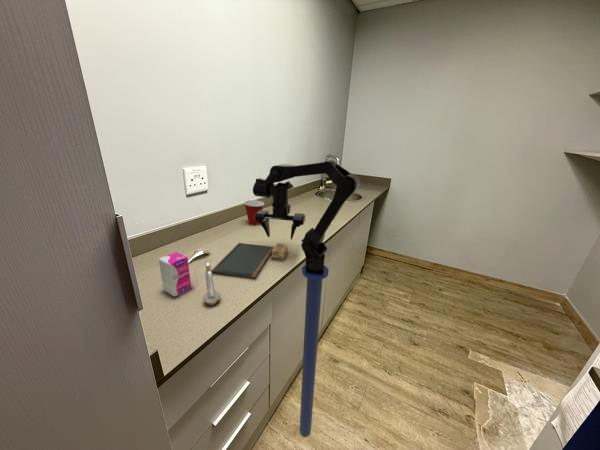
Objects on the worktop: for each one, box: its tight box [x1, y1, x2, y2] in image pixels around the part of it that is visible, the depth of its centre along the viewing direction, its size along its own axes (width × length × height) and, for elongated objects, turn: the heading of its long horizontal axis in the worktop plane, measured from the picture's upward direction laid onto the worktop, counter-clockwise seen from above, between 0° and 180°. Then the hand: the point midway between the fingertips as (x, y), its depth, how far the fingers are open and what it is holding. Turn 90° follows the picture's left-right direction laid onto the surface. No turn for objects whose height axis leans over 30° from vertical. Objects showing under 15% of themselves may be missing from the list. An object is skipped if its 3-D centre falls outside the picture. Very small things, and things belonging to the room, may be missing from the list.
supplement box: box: [158, 251, 192, 299], centre depth 73 cm, size 6×6×12 cm
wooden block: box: [271, 243, 288, 262], centre depth 97 cm, size 4×7×4 cm, turn 170°
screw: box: [201, 262, 221, 306], centre depth 68 cm, size 13×5×5 cm
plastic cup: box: [243, 199, 265, 226], centre depth 131 cm, size 11×11×12 cm
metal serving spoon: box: [188, 248, 210, 263], centre depth 89 cm, size 20×4×5 cm
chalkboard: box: [211, 242, 275, 280], centre depth 94 cm, size 16×24×1 cm, turn 170°
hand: (280, 238), depth 95 cm, fingers open, 9 cm apart
